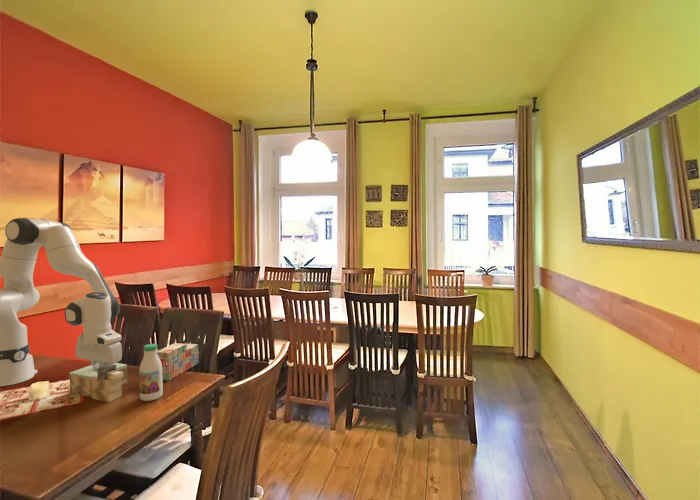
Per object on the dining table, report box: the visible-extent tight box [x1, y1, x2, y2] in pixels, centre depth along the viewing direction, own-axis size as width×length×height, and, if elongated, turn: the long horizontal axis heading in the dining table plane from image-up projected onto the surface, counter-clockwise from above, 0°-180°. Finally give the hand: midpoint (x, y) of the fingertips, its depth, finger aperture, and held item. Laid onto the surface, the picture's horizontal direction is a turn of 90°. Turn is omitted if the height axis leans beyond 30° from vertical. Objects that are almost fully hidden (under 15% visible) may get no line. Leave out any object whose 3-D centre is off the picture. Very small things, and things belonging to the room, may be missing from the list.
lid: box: [69, 362, 128, 379], centre depth 147 cm, size 13×14×6 cm
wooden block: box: [105, 370, 123, 380], centre depth 138 cm, size 9×3×2 cm, turn 71°
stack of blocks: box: [157, 342, 200, 382], centre depth 165 cm, size 21×6×12 cm, turn 169°
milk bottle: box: [138, 343, 164, 402], centre depth 139 cm, size 8×8×20 cm
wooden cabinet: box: [69, 364, 128, 403], centre depth 145 cm, size 22×15×12 cm
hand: (98, 371), depth 140 cm, fingers closed
